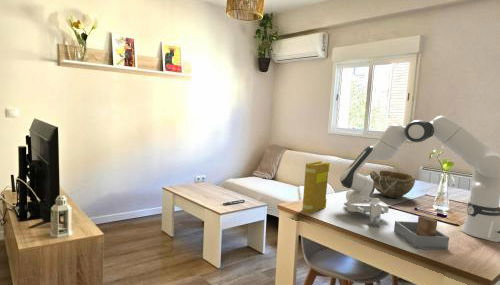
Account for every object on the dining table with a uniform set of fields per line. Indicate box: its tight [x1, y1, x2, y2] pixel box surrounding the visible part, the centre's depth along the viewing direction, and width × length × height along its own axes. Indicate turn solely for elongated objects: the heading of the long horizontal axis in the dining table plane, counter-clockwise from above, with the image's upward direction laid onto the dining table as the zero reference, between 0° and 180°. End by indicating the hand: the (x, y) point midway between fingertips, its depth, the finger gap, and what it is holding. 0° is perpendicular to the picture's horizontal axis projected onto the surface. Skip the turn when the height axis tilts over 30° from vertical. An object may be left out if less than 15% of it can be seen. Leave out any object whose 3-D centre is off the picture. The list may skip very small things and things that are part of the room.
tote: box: [393, 220, 450, 250], centre depth 141 cm, size 14×18×5 cm
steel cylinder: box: [368, 204, 382, 228], centre depth 156 cm, size 5×5×10 cm
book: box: [301, 160, 331, 214], centre depth 175 cm, size 17×7×25 cm, turn 141°
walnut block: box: [416, 215, 438, 236], centre depth 137 cm, size 5×5×10 cm
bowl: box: [369, 170, 416, 199], centre depth 213 cm, size 28×27×15 cm
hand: (373, 212), depth 158 cm, fingers open, 8 cm apart
